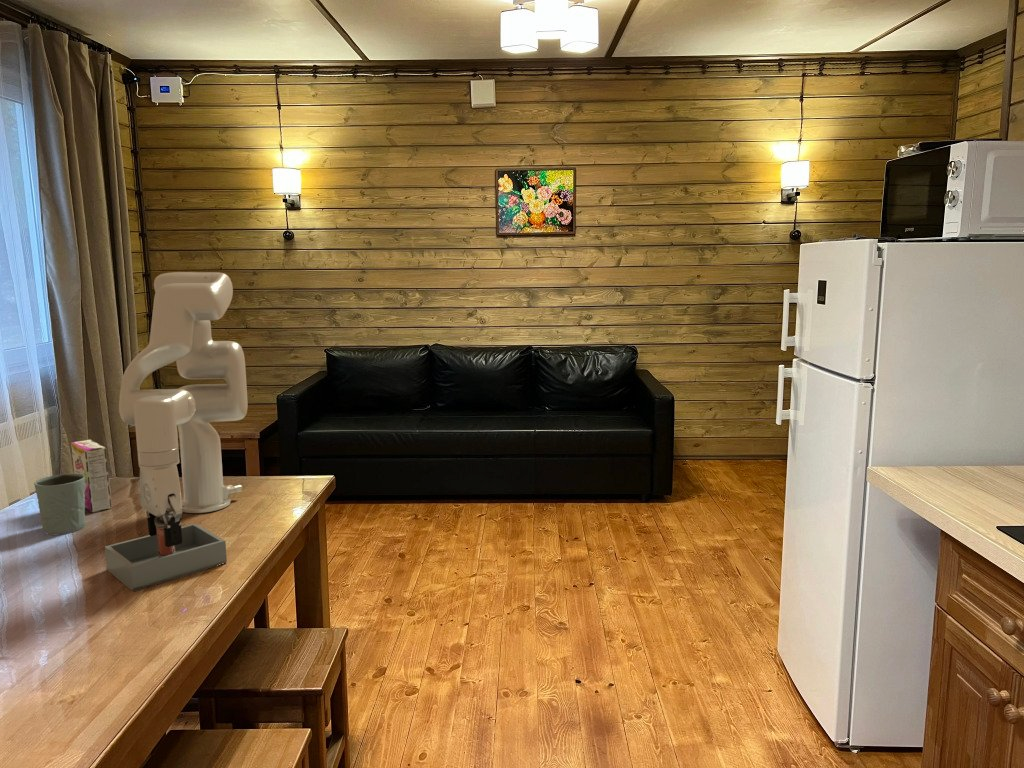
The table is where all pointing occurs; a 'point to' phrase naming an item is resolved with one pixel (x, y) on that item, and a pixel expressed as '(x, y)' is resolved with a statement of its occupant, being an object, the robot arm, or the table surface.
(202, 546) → the bin
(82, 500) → the green plant pot
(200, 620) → the table surface
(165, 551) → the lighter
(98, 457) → the candy bar box
